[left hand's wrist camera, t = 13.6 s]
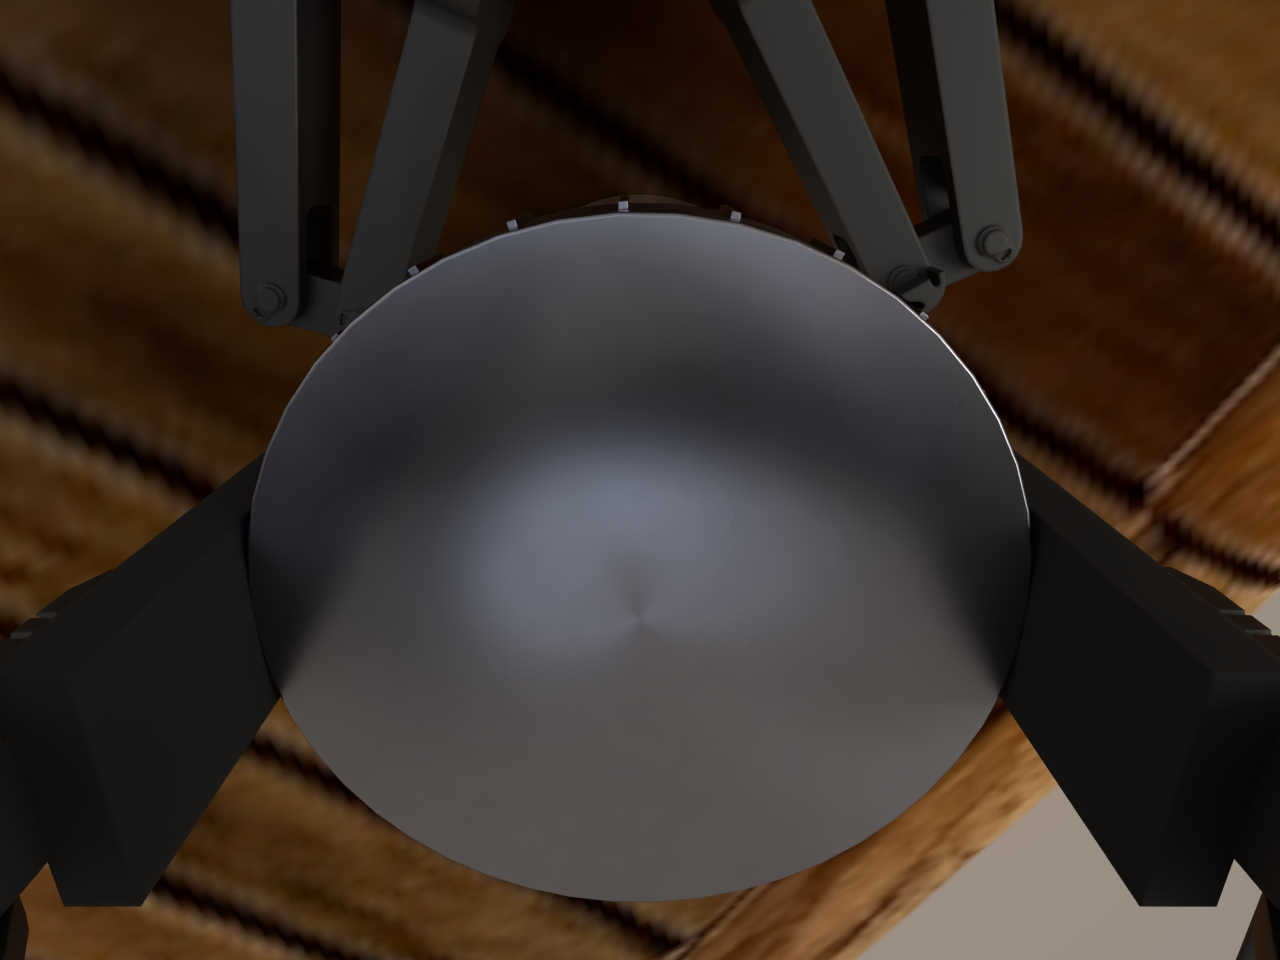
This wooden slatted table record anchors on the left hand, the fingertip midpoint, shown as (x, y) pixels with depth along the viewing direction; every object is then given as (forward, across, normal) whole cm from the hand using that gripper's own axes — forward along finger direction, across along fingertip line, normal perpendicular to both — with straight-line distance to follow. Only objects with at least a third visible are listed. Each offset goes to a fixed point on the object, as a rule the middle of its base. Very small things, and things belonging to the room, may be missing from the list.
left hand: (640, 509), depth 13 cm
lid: (-3, 0, 0) cm, 3 cm away
